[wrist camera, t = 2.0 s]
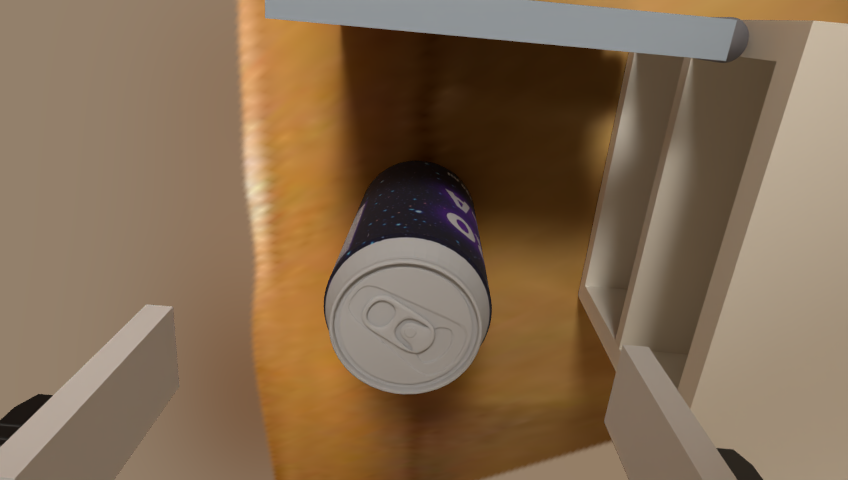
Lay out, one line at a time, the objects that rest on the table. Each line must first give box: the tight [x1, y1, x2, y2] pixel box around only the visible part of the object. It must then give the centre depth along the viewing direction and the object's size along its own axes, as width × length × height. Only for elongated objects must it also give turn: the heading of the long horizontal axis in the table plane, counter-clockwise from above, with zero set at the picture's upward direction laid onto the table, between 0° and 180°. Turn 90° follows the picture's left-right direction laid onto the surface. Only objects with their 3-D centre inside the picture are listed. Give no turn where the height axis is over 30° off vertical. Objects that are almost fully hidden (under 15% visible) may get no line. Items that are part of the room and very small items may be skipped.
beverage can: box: [324, 161, 492, 394], centre depth 24 cm, size 6×6×12 cm
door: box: [265, 0, 749, 63], centre depth 20 cm, size 2×13×12 cm, turn 85°
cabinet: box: [578, 20, 848, 480], centre depth 22 cm, size 14×12×13 cm
